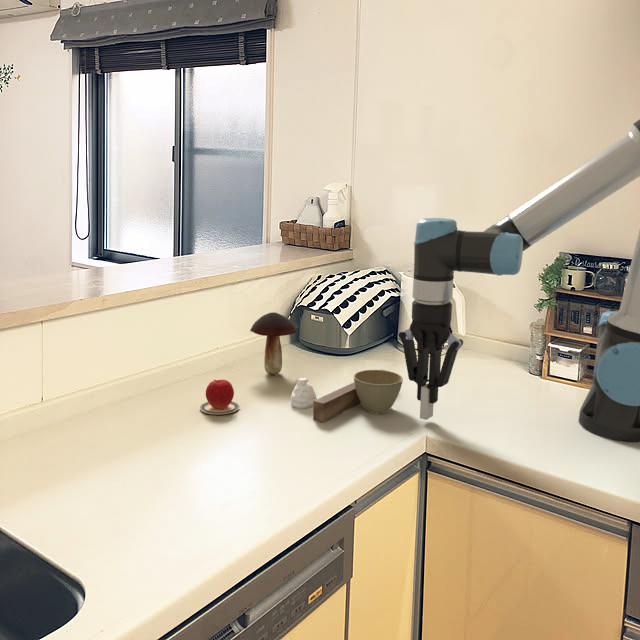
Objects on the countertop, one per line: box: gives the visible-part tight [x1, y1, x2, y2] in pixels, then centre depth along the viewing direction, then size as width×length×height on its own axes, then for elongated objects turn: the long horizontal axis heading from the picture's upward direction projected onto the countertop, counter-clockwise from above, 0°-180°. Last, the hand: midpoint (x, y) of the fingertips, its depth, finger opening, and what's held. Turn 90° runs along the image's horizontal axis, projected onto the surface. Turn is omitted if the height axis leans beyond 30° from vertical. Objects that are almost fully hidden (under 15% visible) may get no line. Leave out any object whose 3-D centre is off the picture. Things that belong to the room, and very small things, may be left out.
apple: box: [199, 379, 240, 415], centre depth 144 cm, size 8×8×6 cm
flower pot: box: [353, 369, 404, 415], centre depth 145 cm, size 10×10×7 cm
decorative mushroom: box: [249, 312, 298, 376], centre depth 165 cm, size 11×11×15 cm
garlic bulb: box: [290, 377, 318, 410], centre depth 147 cm, size 6×6×5 cm
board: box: [312, 369, 387, 424], centre depth 149 cm, size 2×26×4 cm, turn 145°
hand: (426, 416), depth 140 cm, fingers closed
